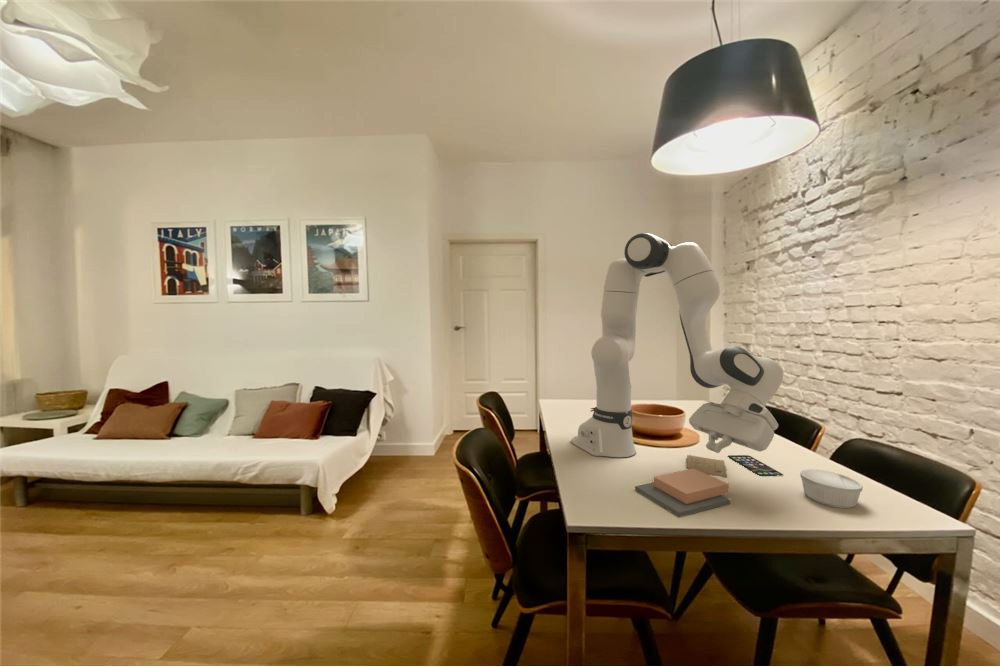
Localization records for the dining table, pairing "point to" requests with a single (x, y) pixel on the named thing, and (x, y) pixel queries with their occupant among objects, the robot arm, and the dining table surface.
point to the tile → (691, 485)
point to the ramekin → (831, 488)
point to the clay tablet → (707, 466)
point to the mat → (677, 505)
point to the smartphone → (754, 465)
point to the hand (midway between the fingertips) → (711, 449)
